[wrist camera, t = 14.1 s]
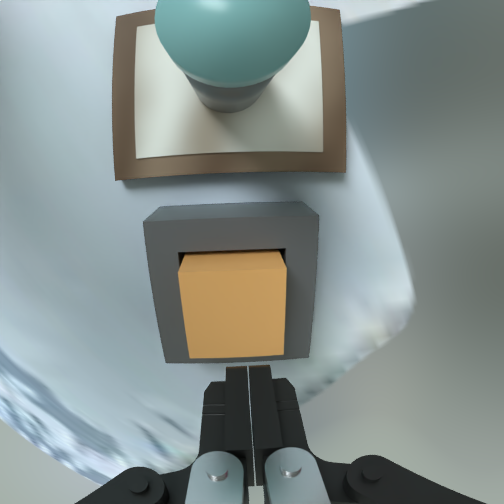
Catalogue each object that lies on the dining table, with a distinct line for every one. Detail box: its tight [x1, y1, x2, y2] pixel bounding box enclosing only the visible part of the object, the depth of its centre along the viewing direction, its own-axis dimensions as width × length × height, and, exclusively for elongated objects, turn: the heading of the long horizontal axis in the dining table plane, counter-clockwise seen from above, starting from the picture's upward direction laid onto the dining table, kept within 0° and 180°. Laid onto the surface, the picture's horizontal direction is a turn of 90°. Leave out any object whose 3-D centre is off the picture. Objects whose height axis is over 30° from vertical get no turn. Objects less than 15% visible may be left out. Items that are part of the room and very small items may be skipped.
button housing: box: [143, 202, 319, 363], centre depth 19 cm, size 9×9×4 cm
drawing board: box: [112, 6, 346, 181], centre depth 16 cm, size 14×11×1 cm
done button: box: [178, 248, 287, 358], centre depth 17 cm, size 5×5×4 cm
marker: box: [155, 0, 311, 113], centre depth 11 cm, size 4×4×10 cm
